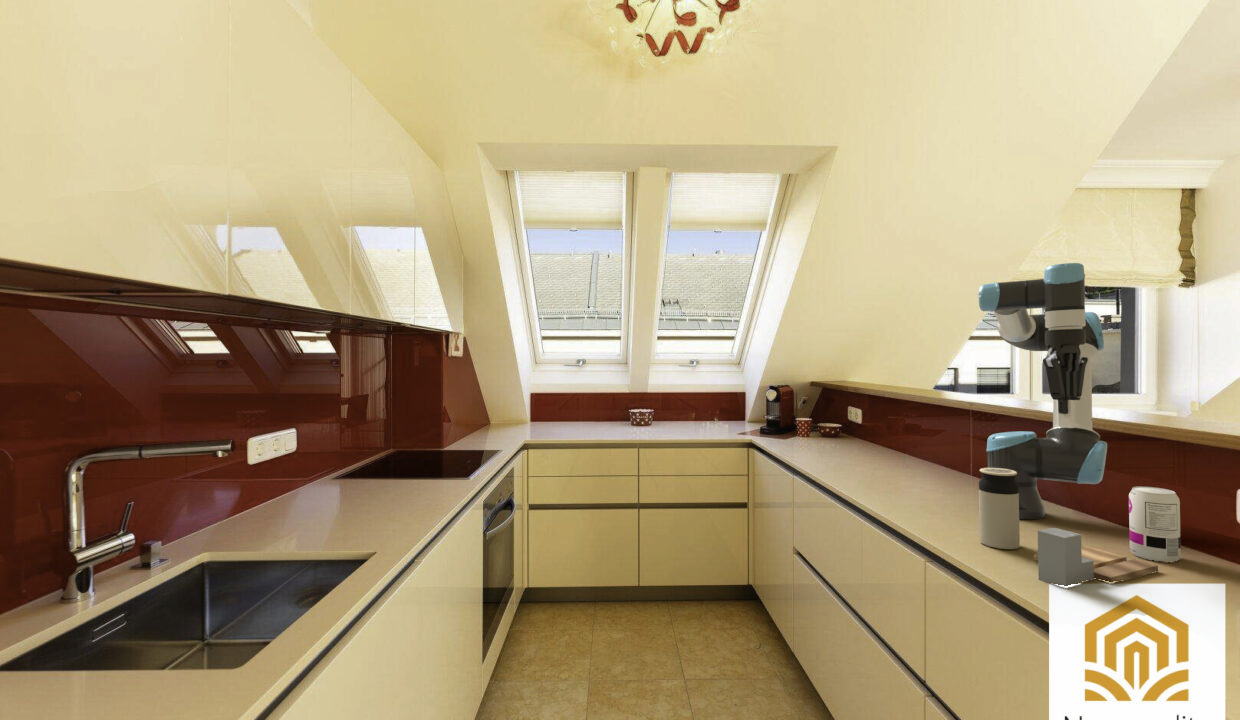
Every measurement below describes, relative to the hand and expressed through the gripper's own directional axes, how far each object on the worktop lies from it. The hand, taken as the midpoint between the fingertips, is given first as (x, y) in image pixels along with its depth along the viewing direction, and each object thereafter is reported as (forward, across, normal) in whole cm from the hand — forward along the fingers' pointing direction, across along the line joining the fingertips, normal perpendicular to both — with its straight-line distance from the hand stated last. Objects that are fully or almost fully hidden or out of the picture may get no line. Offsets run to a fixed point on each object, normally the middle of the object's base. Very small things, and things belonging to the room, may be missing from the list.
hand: (1066, 427), depth 131 cm
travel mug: (+29, +14, -7) cm, 33 cm away
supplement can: (+29, -9, +12) cm, 32 cm away
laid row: (+28, +9, +15) cm, 33 cm away
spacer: (+28, +22, +13) cm, 38 cm away
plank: (+28, +9, +7) cm, 31 cm away
